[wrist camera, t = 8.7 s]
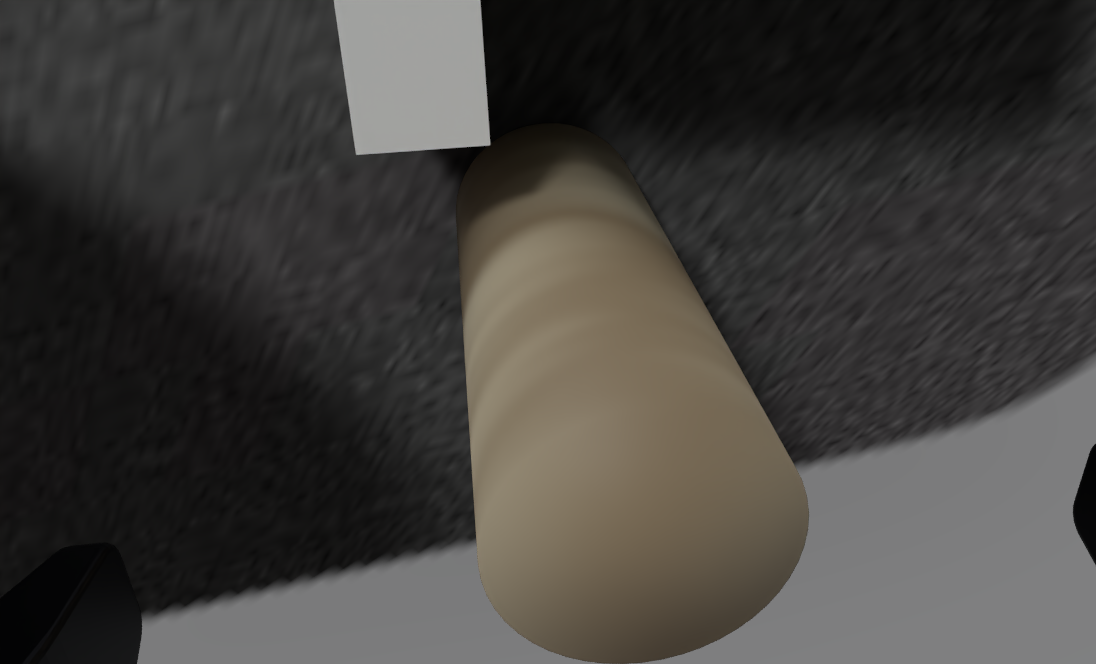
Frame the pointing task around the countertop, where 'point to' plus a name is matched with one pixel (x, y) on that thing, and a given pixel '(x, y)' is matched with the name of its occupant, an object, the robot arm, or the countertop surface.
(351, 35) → the stop bar
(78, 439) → the countertop surface
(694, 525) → the dowel
